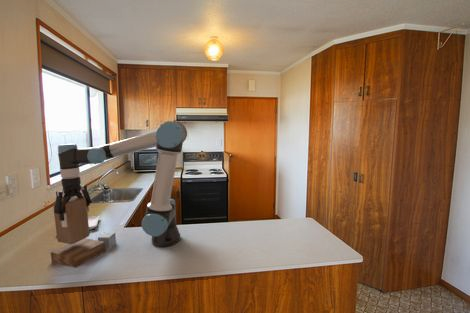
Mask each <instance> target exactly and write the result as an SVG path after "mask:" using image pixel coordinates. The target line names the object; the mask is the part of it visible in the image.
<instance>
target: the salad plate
mask: <svg viewBox="0 0 470 313" xmlns="http://www.w3.org/2000/svg"><path fill="white" fill-rule="evenodd" d="M100 217H101V216H100V215H95V216H94V215H93V216H88V225H89V231H91V230H93V229H95V228H96V227H98V221H99V219H100Z"/></svg>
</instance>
